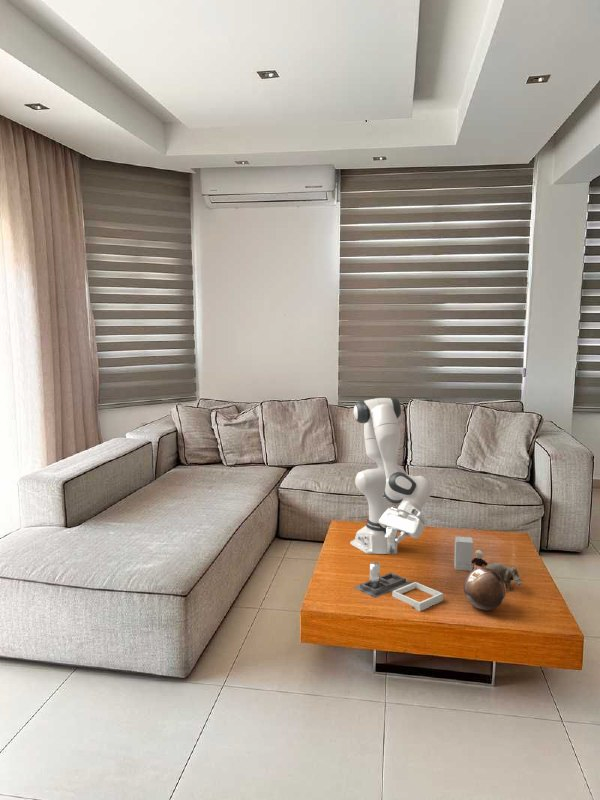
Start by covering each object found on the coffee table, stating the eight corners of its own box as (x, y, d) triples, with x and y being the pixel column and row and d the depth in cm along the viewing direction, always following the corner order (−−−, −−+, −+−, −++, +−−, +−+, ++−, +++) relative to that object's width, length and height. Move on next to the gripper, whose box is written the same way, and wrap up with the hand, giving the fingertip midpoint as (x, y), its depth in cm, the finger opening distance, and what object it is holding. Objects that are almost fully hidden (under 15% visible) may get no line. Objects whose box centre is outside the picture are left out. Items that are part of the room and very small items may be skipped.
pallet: (353, 589, 240) (353, 583, 239) (390, 575, 253) (390, 569, 253) (374, 600, 230) (375, 594, 230) (412, 584, 244) (412, 578, 244)
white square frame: (392, 598, 232) (392, 591, 231) (415, 588, 240) (415, 581, 240) (419, 611, 221) (419, 603, 221) (442, 600, 230) (443, 593, 229)
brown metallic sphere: (454, 606, 225) (455, 567, 224) (479, 595, 234) (480, 558, 233) (488, 621, 213) (490, 581, 212) (513, 609, 223) (514, 570, 221)
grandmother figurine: (468, 580, 248) (469, 550, 247) (469, 576, 252) (470, 547, 250) (487, 582, 246) (489, 553, 244) (488, 579, 249) (489, 549, 248)
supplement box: (472, 571, 257) (473, 542, 256) (454, 569, 259) (455, 541, 257) (471, 564, 265) (472, 537, 263) (454, 563, 266) (454, 535, 265)
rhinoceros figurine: (483, 570, 252) (503, 548, 244) (509, 596, 246) (530, 574, 238) (475, 577, 246) (495, 555, 238) (501, 604, 240) (522, 582, 232)
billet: (385, 552, 244) (385, 528, 242) (391, 550, 246) (392, 526, 245) (392, 555, 240) (392, 531, 239) (399, 552, 243) (399, 529, 242)
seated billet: (367, 588, 239) (367, 563, 238) (374, 585, 241) (374, 561, 240) (374, 591, 236) (375, 567, 235) (381, 588, 238) (382, 564, 237)
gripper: (385, 502, 254) (369, 529, 249) (423, 513, 238) (406, 542, 233) (392, 510, 257) (376, 537, 252) (430, 522, 241) (414, 551, 236)
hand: (391, 540), depth 242 cm, fingers closed on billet, 4 cm apart
